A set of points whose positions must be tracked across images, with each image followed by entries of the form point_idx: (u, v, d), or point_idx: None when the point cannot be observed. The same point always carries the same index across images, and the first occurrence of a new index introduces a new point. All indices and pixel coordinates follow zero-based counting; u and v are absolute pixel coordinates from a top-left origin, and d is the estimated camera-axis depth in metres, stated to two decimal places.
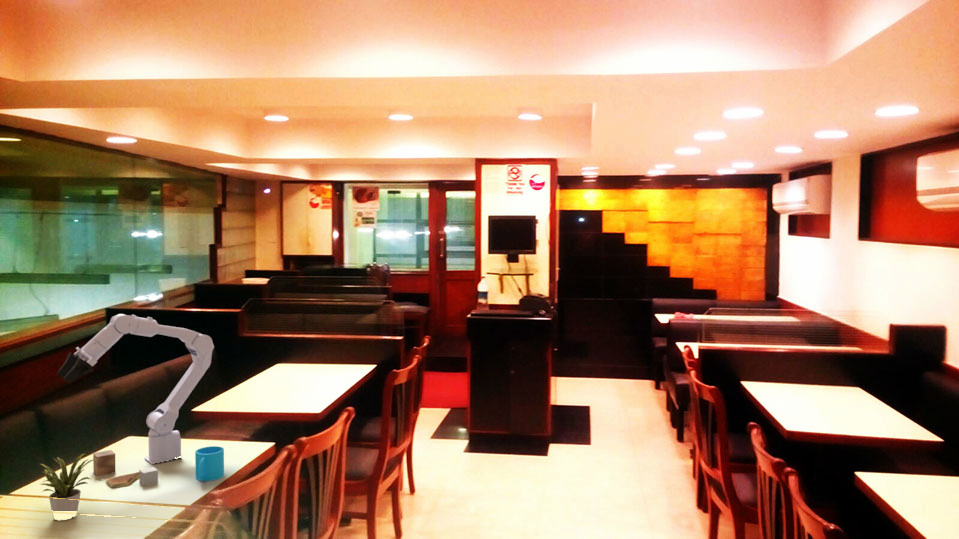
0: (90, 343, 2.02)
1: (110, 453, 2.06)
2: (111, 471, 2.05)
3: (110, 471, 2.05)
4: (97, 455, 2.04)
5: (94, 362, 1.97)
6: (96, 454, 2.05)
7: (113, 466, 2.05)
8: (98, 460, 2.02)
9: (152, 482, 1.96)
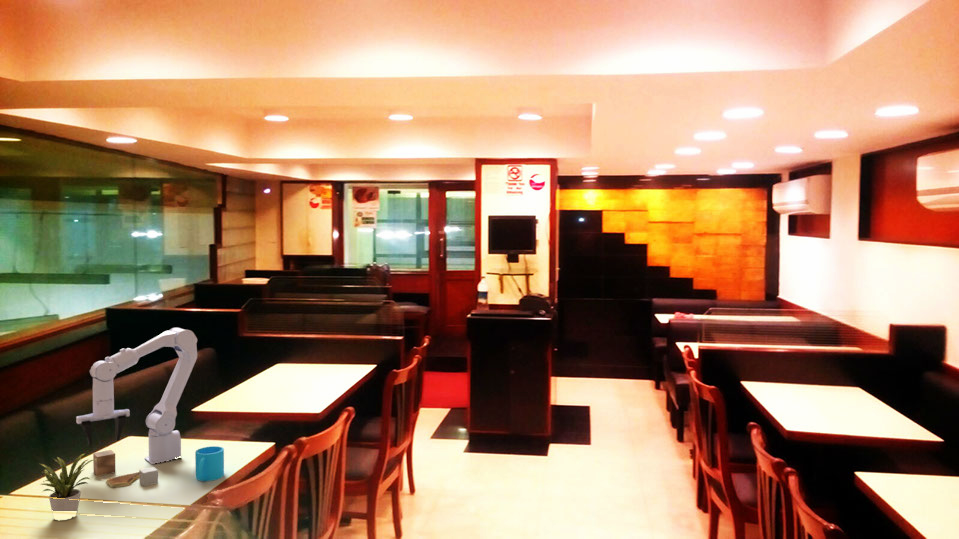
0: (109, 404, 2.04)
1: (110, 453, 2.06)
2: (111, 471, 2.05)
3: (110, 471, 2.05)
4: (97, 455, 2.04)
5: None
6: (96, 454, 2.05)
7: (113, 466, 2.05)
8: (98, 460, 2.02)
9: (152, 482, 1.96)
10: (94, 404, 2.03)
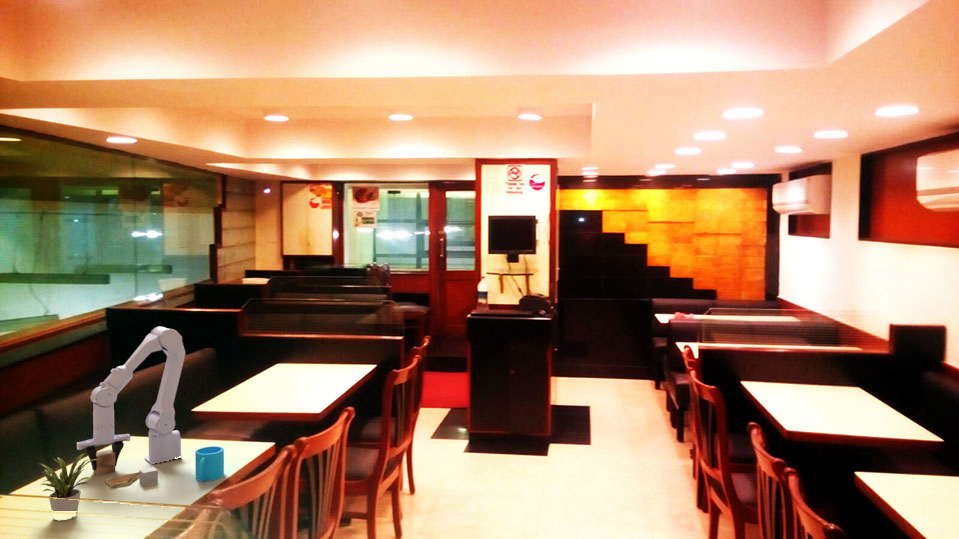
0: (110, 430, 2.04)
1: (110, 453, 2.06)
2: (111, 471, 2.05)
3: (110, 471, 2.05)
4: (97, 455, 2.04)
5: None
6: (96, 454, 2.05)
7: (113, 466, 2.05)
8: (98, 460, 2.02)
9: (152, 482, 1.96)
10: (94, 430, 2.03)
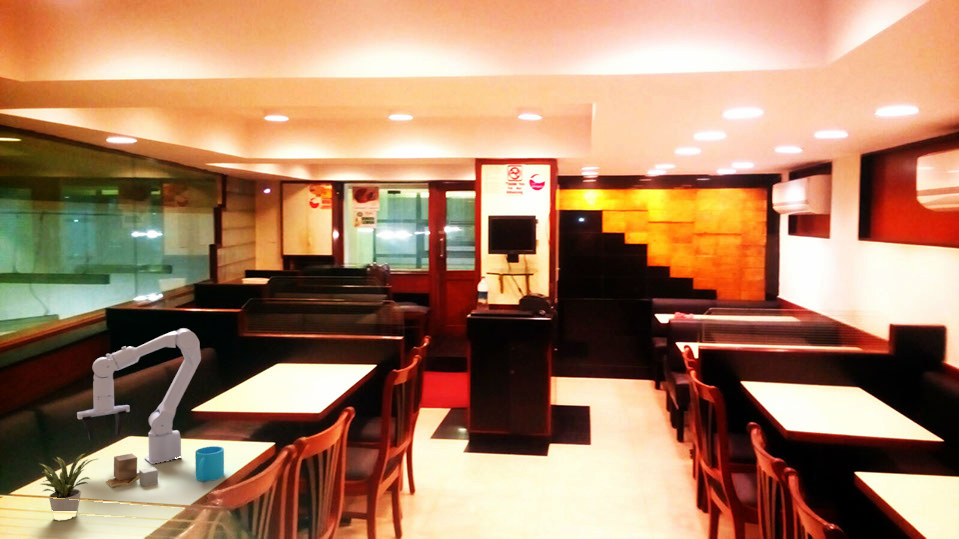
0: (109, 400, 2.08)
1: (132, 456, 1.99)
2: (132, 475, 1.98)
3: (131, 475, 1.98)
4: (119, 459, 1.97)
5: None
6: (117, 458, 1.97)
7: (135, 470, 1.98)
8: (120, 464, 1.95)
9: (152, 482, 1.96)
10: (95, 400, 2.06)
